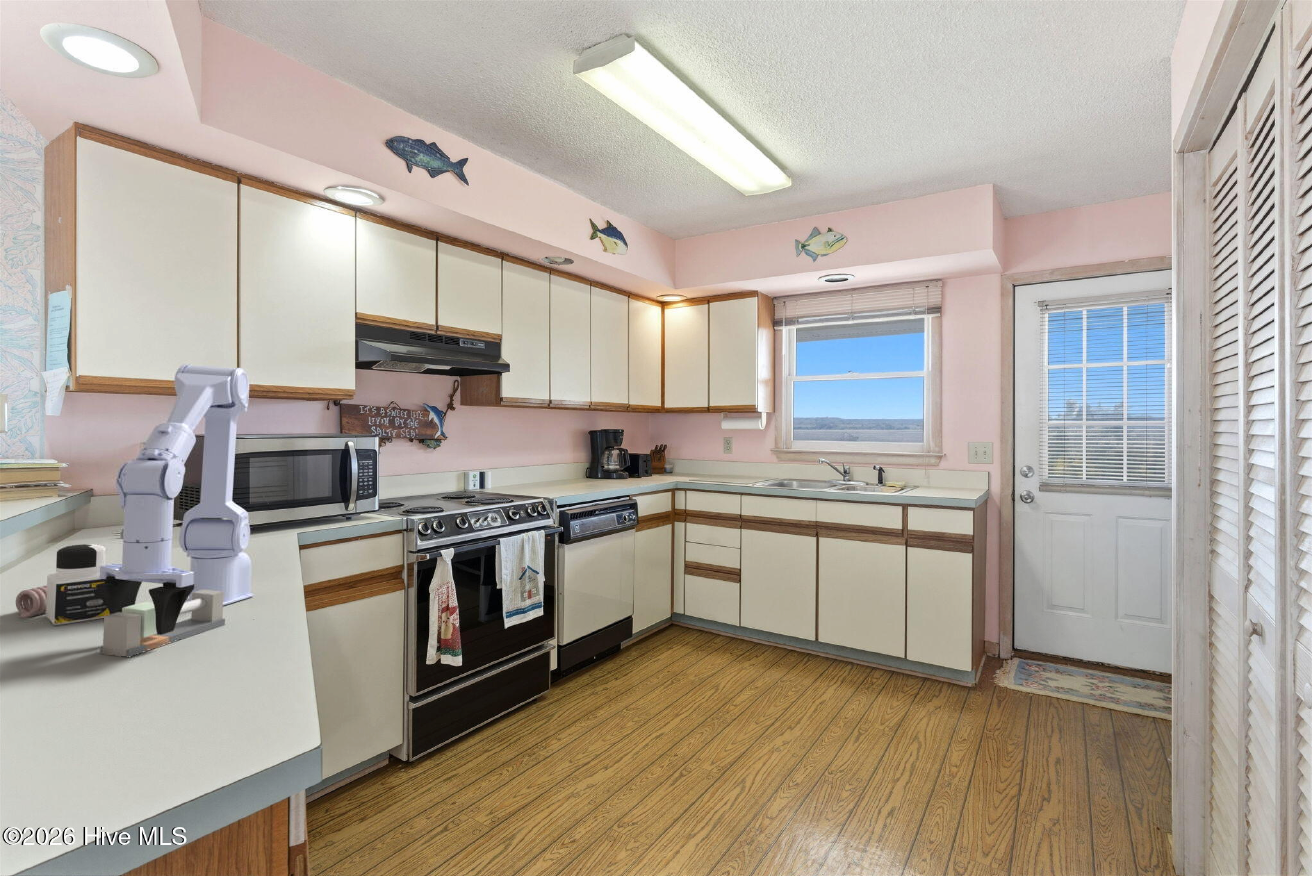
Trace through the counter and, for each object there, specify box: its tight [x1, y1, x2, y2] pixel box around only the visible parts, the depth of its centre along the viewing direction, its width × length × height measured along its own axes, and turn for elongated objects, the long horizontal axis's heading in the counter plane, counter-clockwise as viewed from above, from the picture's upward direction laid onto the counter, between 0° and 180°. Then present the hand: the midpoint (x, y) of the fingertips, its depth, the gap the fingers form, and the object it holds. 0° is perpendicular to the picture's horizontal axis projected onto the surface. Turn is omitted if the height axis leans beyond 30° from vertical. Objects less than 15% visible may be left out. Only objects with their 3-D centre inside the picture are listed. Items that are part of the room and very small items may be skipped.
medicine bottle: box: [45, 543, 110, 626], centre depth 105 cm, size 7×7×12 cm
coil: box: [15, 584, 47, 619], centre depth 112 cm, size 5×5×18 cm
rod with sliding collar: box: [99, 590, 226, 658], centre depth 97 cm, size 16×5×6 cm, turn 170°
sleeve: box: [122, 601, 157, 638], centre depth 93 cm, size 4×4×4 cm
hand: (144, 630), depth 93 cm, fingers open, 7 cm apart
